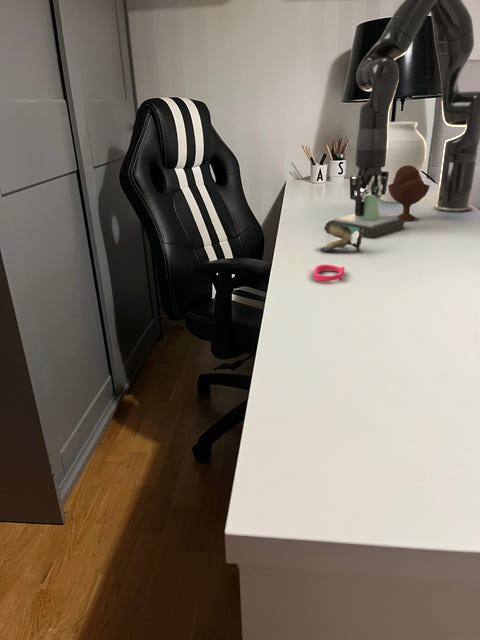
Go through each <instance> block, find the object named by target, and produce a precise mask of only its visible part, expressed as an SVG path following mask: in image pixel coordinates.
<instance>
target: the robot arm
mask: <svg viewBox="0 0 480 640" xmlns="http://www.w3.org/2000/svg"><path fill="white" fill-rule="evenodd" d="M429 15H430V16H431V22H432V29H433V38H434V44H435V51H436V56H437V62H438V69H439V76H440V77H439V79H440V88H441V108H442V109H441V110H442V118H443V121H444V123H445V124H446V125H447V126H450V127H465V130H464V131H463V132H462V133H461V134H460V135H458V136H456V137H453V138H451V139H450V138H449V139H447V140H446V141H445V143H444V146H443V147H444V148H443V155H442V162H441V163H442V164H441V172H440V178H439V179H440V180H439V187H438V195H437V198H436V200H437V203H436V209H437V210H439V211H443V212H444V211H445V212H466V211H469V210H470V203H471V196H472V189H473V182H474V177H475V170H476V165H477V164H476V163H477V156H478V150H479V146H480V90H477V91H476V90H475V91H460V89H459V79H460V76H461V74H462V71H463V69H464V67H465V66H466V64H467V63H468V61H469V58H470V57H471V54H472V52H473V50H474V47H475V34H474V24H473V18H472V16H471V13H470V11H469V10H468V8H467V6H466V4H464V2H463V1H462V0H404V1H402V3H401V4H400V5H399V6H398V7H397V9H396V10H395V12H394V13H393V14H392V16H391V18H390V20H389V22H388V23H387V24H386V27H385V29H384V31H383V33H382V35H381V36H380V38H379V39H378V40H377V41H376V42H375V43H374V44H373V46H372V47H371V48H370V50H369V51H368V52H367V53H366V54H365V56H364V57H363V58H362V60H361V61H360V64H359V65H358V67H357V71H356V76H355V79H356V84H357V86H358V87H359V88H360V89H361V90H363V91H364V92H365V91H366V92H370V96H369V100H368V101H365V102H364V103H362V104H361V106H360V109H359V119H358V132H357V136H356V150H355V167H357V168H358V172H357V175H350V176H349V199H350V200H353V201H354V202H355V206H354V214H355V215H356V216H360V217H361V216H363V215H364V205H365V202H364V201H365V198H366V195H369V193H370V195H373V196H379V197H380V199H382V197H381V196H382V195H385V193H386V187H387V181H388V175H389V172H386V171H382V170H381V167H384V166H385V165H386V157H387V145H388V128H387V127H388V122H390V120H389V119H390V109H391V106H392V103H393V100H394V97H395V94H396V91H397V88H398V83H399V78H400V70H399V65H398V63H397V61H396V60H397V59H398V58H400V57H403V56H404V55H405V54H406V53H407V52H408V50H409V48H410V47H411V45H412V44H413V42H414V40H415V38H416V36H417V34H418V33H419V31H420V29H421V27H422V25H423V24H424V22H425V20H426V19H427V18H428V16H429ZM381 185H383V187H382V186H381ZM381 189H382V190H381ZM361 196H362V197H361Z"/></svg>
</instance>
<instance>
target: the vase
mask: <svg viewBox="0 0 480 640" xmlns="http://www.w3.org/2000/svg"><path fill="white" fill-rule="evenodd" d="M418 124H419V122H417V121H388V127H387V128H388V145H387V157H386V165H385V166H384V167H381V170H382V171H386V172H389V175H388V181H387V187H386V193H385V195H382V196H381V199H382V201H383V202H387V203H398V202H397V201H396V200H394V199H393V198H392V196H391V195H390V193H389V187H388V185H390V184H393V181H394V178H395V175H396V173H397V170H399V169H400V168H401V167H403V166H406V165H410V166H414V167H415V168H416V169H417V170H418V171H419V175H420V176H421V173H422V171H423V168H424V165H425V162H426V159H427V151H428V150H427V143H426V141H425V138H424V136H423V135H422V133H420V132H419V130H418V129H417V126H418ZM381 186H382V187H383V185H381ZM381 190H382V189H381Z"/></svg>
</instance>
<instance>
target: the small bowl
mask: <svg viewBox="0 0 480 640" xmlns="http://www.w3.org/2000/svg"><path fill="white" fill-rule="evenodd" d="M361 197H362V195H361ZM364 202H365V205H364V215H363V216H361V217H360V216H356V215H355V219H358V220H365V221H371V220H377V219H378V217H379V215H380V204H381V198H380V197H379V196H373V195H371V194H367V195H366V198H365V201H364Z"/></svg>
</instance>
